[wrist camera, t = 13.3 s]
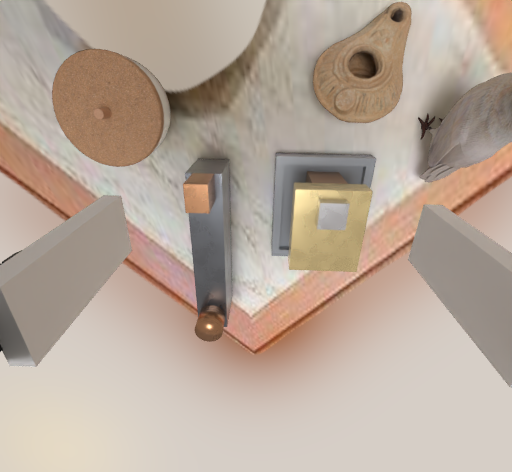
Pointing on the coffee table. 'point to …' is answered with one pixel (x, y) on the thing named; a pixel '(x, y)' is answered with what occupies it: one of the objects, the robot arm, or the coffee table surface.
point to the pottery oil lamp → (365, 69)
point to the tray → (297, 174)
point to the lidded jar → (110, 107)
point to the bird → (471, 128)
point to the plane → (210, 243)
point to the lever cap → (327, 226)
